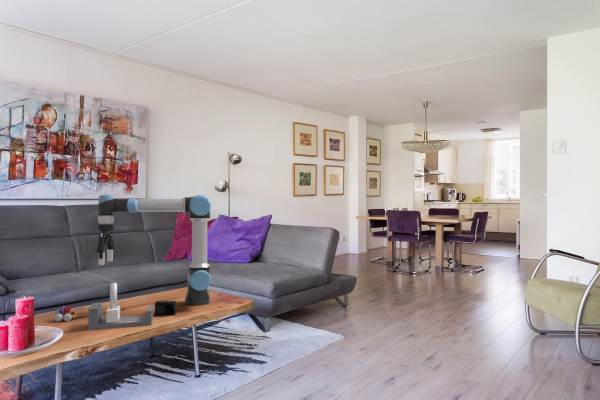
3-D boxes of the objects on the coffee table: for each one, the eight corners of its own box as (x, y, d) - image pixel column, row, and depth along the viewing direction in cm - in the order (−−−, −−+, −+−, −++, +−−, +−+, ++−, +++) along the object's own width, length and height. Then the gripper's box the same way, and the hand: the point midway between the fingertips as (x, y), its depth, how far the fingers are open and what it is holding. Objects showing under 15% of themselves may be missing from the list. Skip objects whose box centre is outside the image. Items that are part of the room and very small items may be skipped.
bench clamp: (152, 318, 213) (152, 299, 214) (151, 325, 202) (151, 304, 202) (93, 323, 205) (93, 303, 205) (88, 330, 194) (88, 308, 194)
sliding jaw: (120, 317, 208) (120, 281, 208) (117, 322, 199) (117, 284, 199) (109, 318, 206) (109, 282, 206) (106, 323, 197) (106, 285, 198)
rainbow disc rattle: (72, 322, 208) (72, 307, 208) (51, 322, 207) (51, 308, 207) (78, 317, 217) (78, 303, 217) (58, 318, 215) (58, 304, 215)
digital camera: (153, 316, 218) (153, 303, 218) (156, 313, 223) (156, 301, 223) (173, 316, 219) (173, 302, 219) (176, 313, 224) (176, 300, 224)
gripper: (106, 222, 233) (106, 260, 233) (89, 224, 208) (89, 266, 208) (120, 222, 234) (120, 259, 234) (105, 224, 209) (105, 266, 209)
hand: (105, 263), depth 221 cm, fingers open, 13 cm apart
